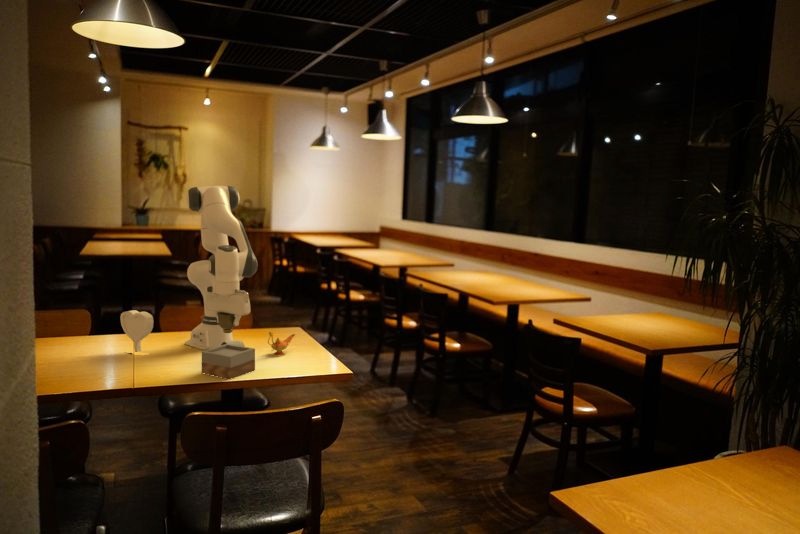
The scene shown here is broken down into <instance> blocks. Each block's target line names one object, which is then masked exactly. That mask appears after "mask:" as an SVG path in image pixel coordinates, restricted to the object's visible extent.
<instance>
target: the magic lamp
mask: <svg viewBox="0 0 800 534" xmlns="http://www.w3.org/2000/svg"><path fill="white" fill-rule="evenodd" d="M268 334H269V337H268V340H267V344H268V345H269V346H271V348H272V351H275V352H274V353H273V356H277V355H280V356H285V355H286V353H285V352H284V350H285V349H287V348H288V346H289V344H290V343H291V342H292V340H293V339H294V337H295V336H296V334H295V333H293V334H290V335H289V336H288V337H287V338H286V339H284V340H281V339H280V338H279V337H277V338H276V339H275V342H274V338H273V337H274V335H273V332H272V331H268ZM270 339H271V341H272V344H270ZM284 354H285V355H284Z"/></svg>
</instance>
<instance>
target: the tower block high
mask: <svg viewBox="0 0 800 534" xmlns="http://www.w3.org/2000/svg"><path fill="white" fill-rule="evenodd" d="M254 359H255V360H256V348H254V347H248V346H245V347H243V346H237V345H230V344H225V345H222V346H219V347H215V348H212V349H205V350H203V351H201V364H202V363H207V364H212V365H218V366H223V367H229V368H232V367H234V366H237V365H240V364H243V363H245V362H248V361H251V360H254Z"/></svg>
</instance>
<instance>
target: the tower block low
mask: <svg viewBox="0 0 800 534" xmlns="http://www.w3.org/2000/svg"><path fill="white" fill-rule="evenodd" d="M254 370H255V371H256V358H255V359H254V360H251V361H248V362H245V363H243V364H240V365H237V366H234V367H232V368H229V367H223V366H218V365H212V364H207V363H202V362H201V374H202V373H205V374H204V375H206V374H209V375H208V376H210V375H214V376H218V377H217V378H219V377H222V378H221V379H223V378H226V379H225V380H227V379H230V380H232V379H231V378H233V379H235V377H236V378H238V377H241V376H244V375H246V373H247V374H249V372H250V373H253V372H255V371H254ZM252 371H253V372H252ZM214 376H213V377H214Z"/></svg>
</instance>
